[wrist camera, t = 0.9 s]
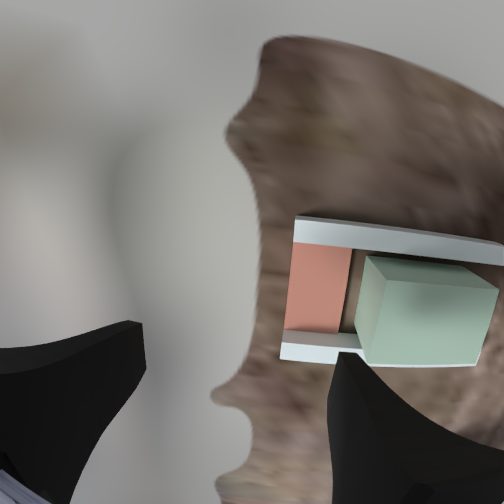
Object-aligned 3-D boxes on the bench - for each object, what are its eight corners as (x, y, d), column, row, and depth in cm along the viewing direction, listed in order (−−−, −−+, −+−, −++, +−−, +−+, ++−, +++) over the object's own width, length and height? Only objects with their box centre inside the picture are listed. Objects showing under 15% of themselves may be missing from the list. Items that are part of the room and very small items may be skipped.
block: (445, 327, 18) (475, 363, 14) (353, 322, 19) (367, 363, 14) (460, 265, 17) (499, 289, 12) (365, 254, 18) (386, 279, 13)
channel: (464, 352, 18) (475, 365, 16) (282, 343, 20) (279, 358, 18) (494, 241, 16) (509, 247, 14) (295, 215, 18) (295, 219, 16)
